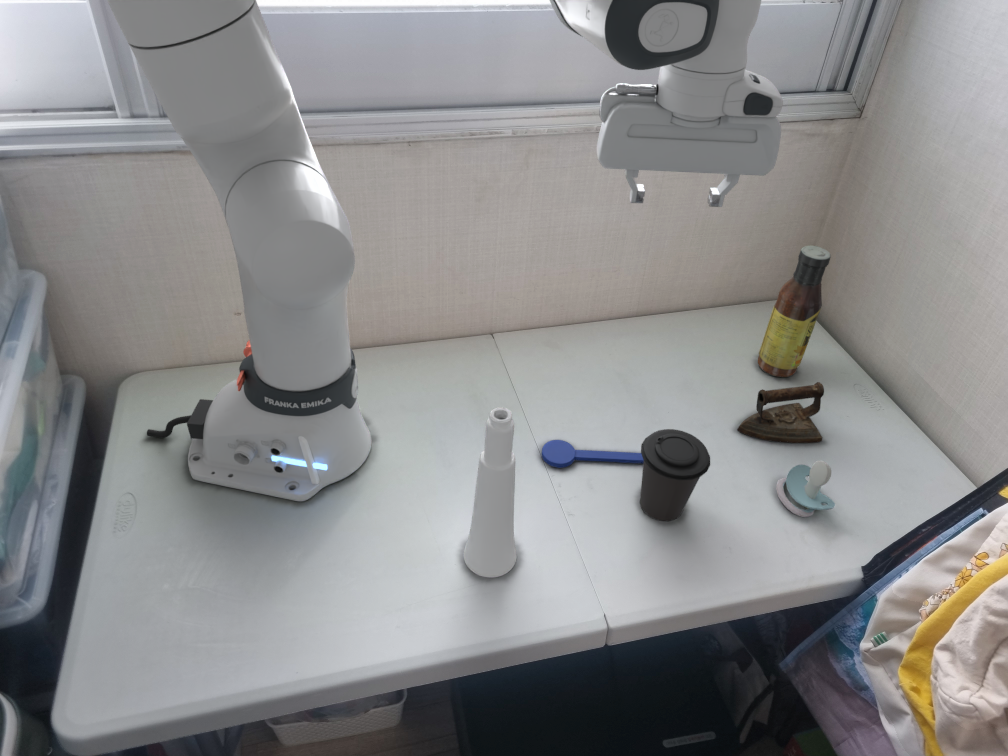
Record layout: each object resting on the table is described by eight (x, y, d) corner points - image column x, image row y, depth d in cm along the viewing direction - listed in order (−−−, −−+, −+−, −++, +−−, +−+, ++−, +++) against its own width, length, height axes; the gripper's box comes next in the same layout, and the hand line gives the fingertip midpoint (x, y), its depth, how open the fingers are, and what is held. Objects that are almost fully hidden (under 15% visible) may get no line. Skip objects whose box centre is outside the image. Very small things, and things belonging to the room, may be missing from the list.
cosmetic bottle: (502, 586, 84) (516, 445, 70) (454, 565, 86) (458, 423, 72) (524, 547, 89) (542, 406, 75) (478, 527, 90) (486, 386, 76)
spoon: (661, 449, 102) (663, 444, 102) (666, 473, 99) (668, 469, 99) (541, 442, 102) (541, 438, 101) (541, 467, 99) (542, 462, 98)
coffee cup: (626, 477, 98) (639, 420, 92) (689, 482, 98) (707, 425, 92) (631, 527, 92) (646, 470, 85) (698, 532, 92) (718, 475, 85)
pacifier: (790, 524, 94) (836, 519, 95) (804, 490, 90) (852, 485, 91) (766, 479, 99) (809, 475, 100) (778, 445, 95) (823, 441, 96)
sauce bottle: (799, 382, 115) (845, 269, 102) (757, 376, 116) (797, 262, 103) (793, 356, 120) (836, 244, 107) (753, 350, 121) (791, 238, 108)
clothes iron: (825, 443, 106) (837, 397, 98) (746, 463, 106) (752, 419, 98) (802, 406, 110) (812, 359, 103) (727, 425, 110) (731, 379, 103)
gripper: (604, 93, 81) (590, 211, 90) (798, 102, 81) (764, 219, 90) (600, 72, 85) (587, 186, 94) (783, 81, 86) (752, 194, 95)
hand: (675, 203), depth 92 cm, fingers open, 8 cm apart
